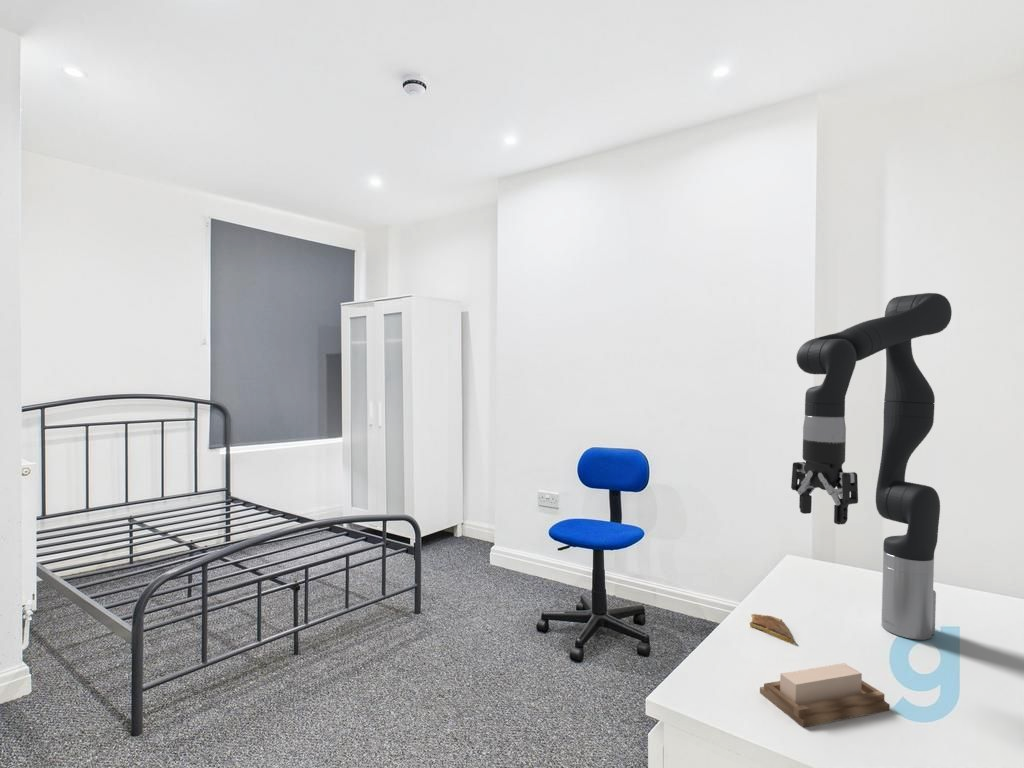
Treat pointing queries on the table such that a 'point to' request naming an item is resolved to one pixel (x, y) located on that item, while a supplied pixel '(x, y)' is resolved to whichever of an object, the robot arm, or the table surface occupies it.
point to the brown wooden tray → (827, 705)
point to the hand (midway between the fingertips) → (822, 518)
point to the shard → (771, 626)
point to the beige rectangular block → (821, 684)
